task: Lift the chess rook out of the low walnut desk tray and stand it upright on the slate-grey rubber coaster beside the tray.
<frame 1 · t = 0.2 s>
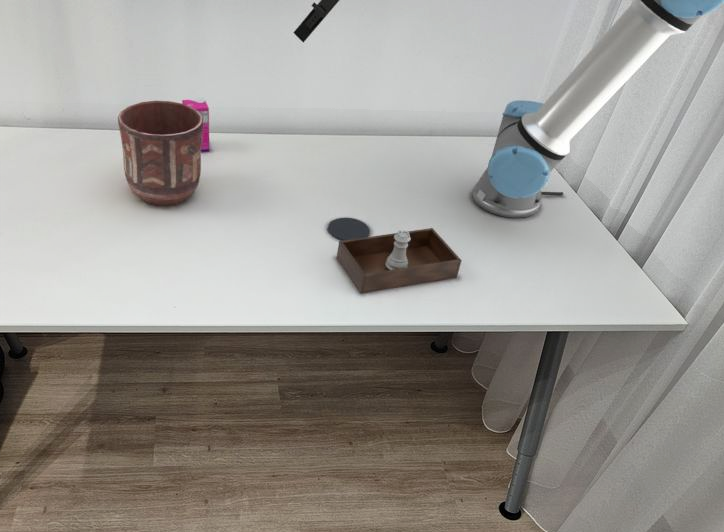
hand: (308, 26, 148), 36 cm above the table, tool tilted 35°, fingers open, 13 cm apart
pottery: (163, 193, 165), on the table
coaster: (348, 230, 157), on the table
rook chess piece: (396, 267, 148), resting on tray
supplement box: (196, 148, 183), on the table
tray: (395, 268, 148), on the table
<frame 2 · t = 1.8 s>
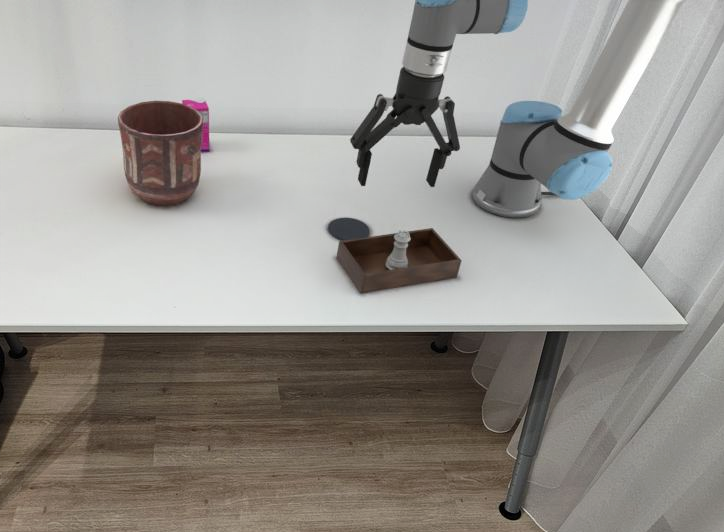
hand: (396, 183, 137), 18 cm above the table, tool pointing down, fingers open, 13 cm apart
nothing on the table moved.
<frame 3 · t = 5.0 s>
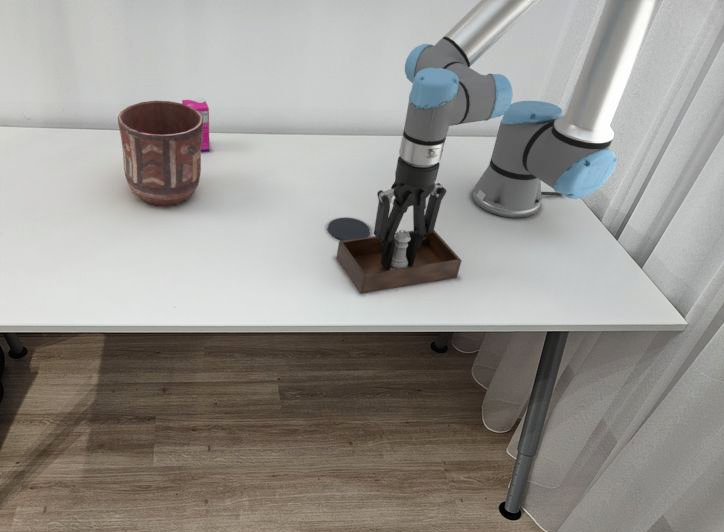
hand: (396, 264, 147), 1 cm above the table, tool pointing down, fingers closed on rook chess piece, 4 cm apart
rook chess piece: (396, 267, 148), resting on tray, touching gripper
everything else where it was.
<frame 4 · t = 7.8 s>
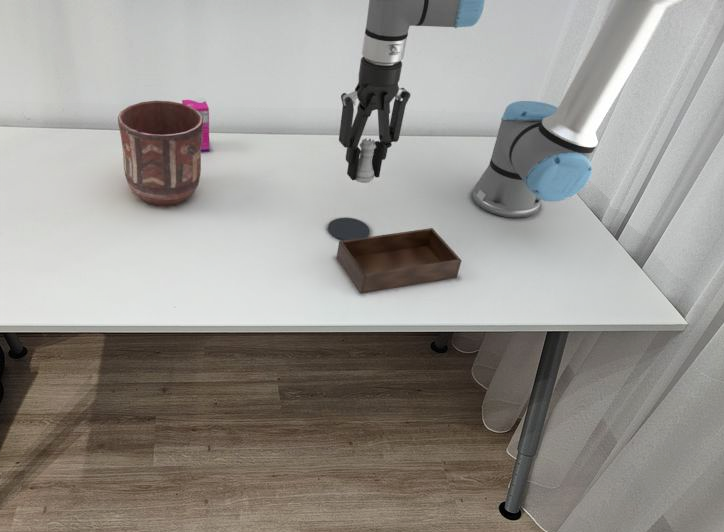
hand: (363, 175, 147), 14 cm above the table, tool pointing down, fingers closed on rook chess piece, 4 cm apart
rook chess piece: (362, 178, 147), point 13 cm above the table, touching gripper
everything else where it was.
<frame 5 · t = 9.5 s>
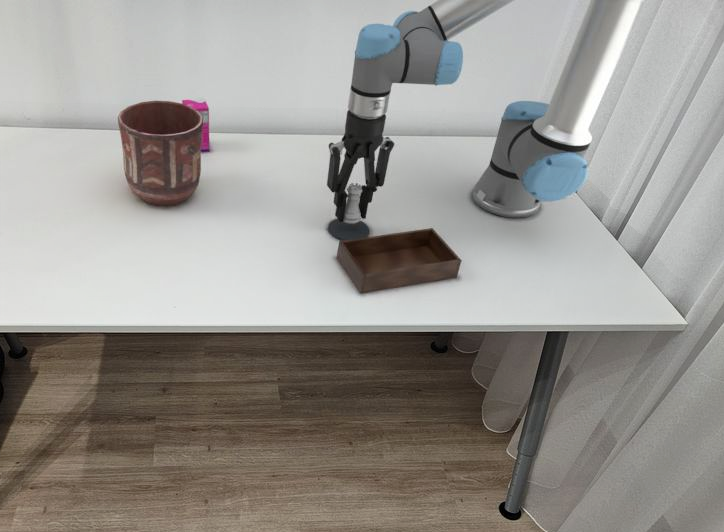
hand: (350, 216, 155), 3 cm above the table, tool pointing down, fingers closed on rook chess piece, 4 cm apart
rook chess piece: (349, 220, 156), point 3 cm above the table, touching gripper
everything else where it was.
when the fingers open (1 cm above the table, at t = 10.5 s): rook chess piece stays where it is, resting on coaster.
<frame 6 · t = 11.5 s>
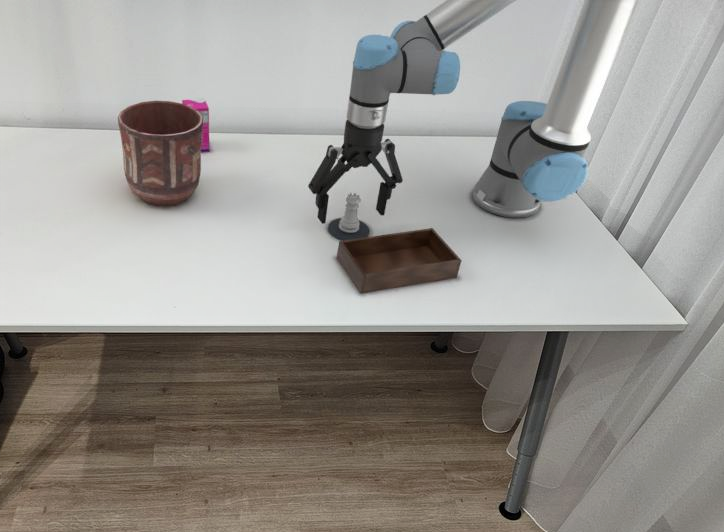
hand: (350, 216, 155), 3 cm above the table, tool pointing down, fingers open, 13 cm apart
rook chess piece: (348, 229, 157), resting on coaster
everything else where it was.
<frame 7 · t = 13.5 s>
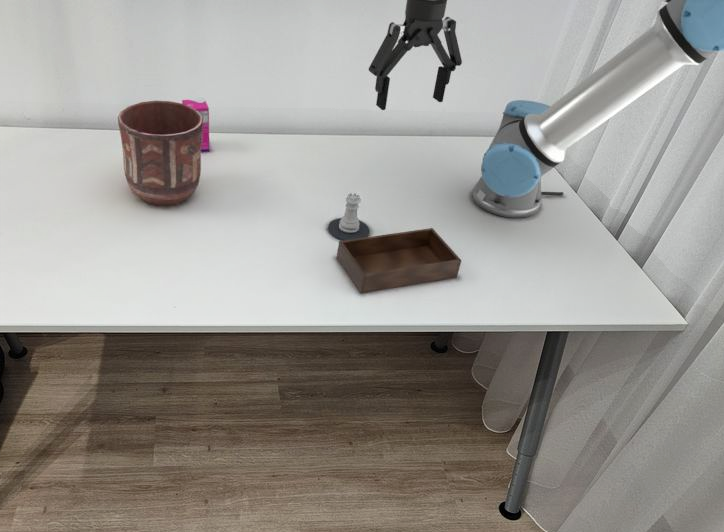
hand: (409, 103, 152), 23 cm above the table, tool pointing down, fingers open, 13 cm apart
nothing on the table moved.
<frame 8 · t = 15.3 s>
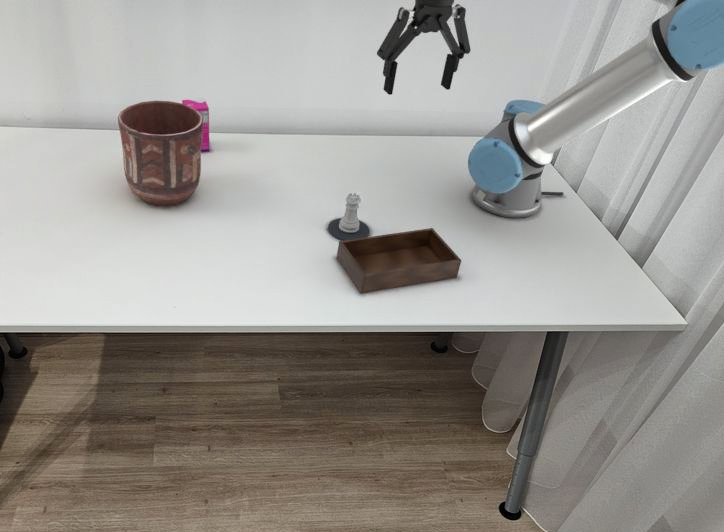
hand: (416, 89, 154), 25 cm above the table, tool pointing down, fingers open, 13 cm apart
nothing on the table moved.
at the end: rook chess piece 0.0 cm off-centre on the coaster, point 0.2 cm above the coaster's base; rook chess piece tilted 0°; rook chess piece touching coaster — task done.
